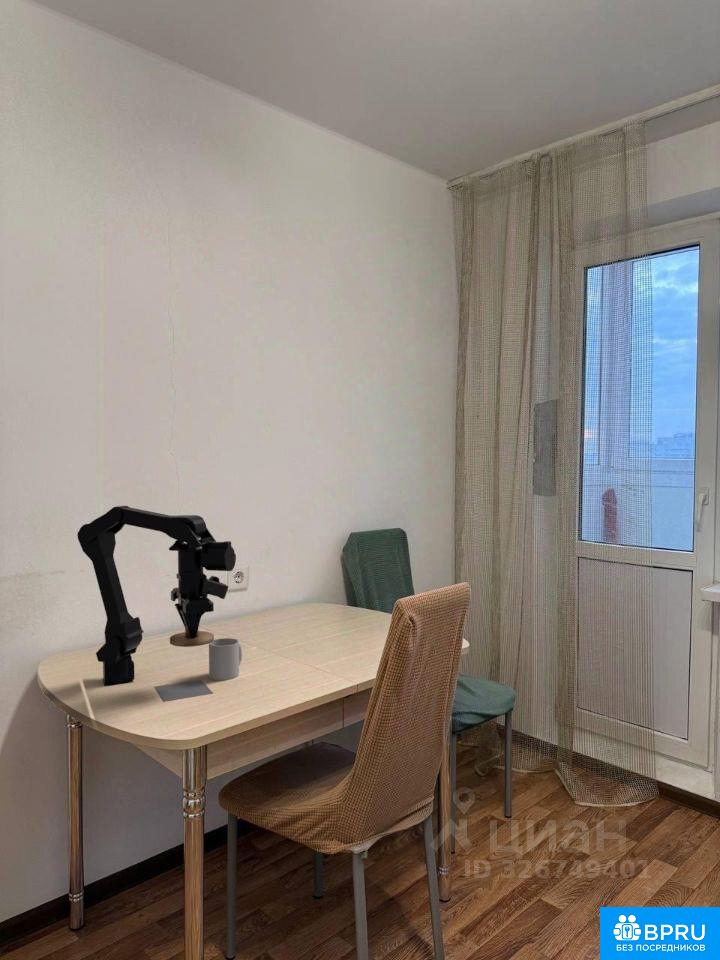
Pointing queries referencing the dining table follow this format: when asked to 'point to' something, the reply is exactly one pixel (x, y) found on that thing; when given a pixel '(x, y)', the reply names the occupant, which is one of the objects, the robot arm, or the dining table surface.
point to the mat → (182, 690)
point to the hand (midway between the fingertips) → (191, 636)
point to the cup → (224, 658)
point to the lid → (191, 639)
